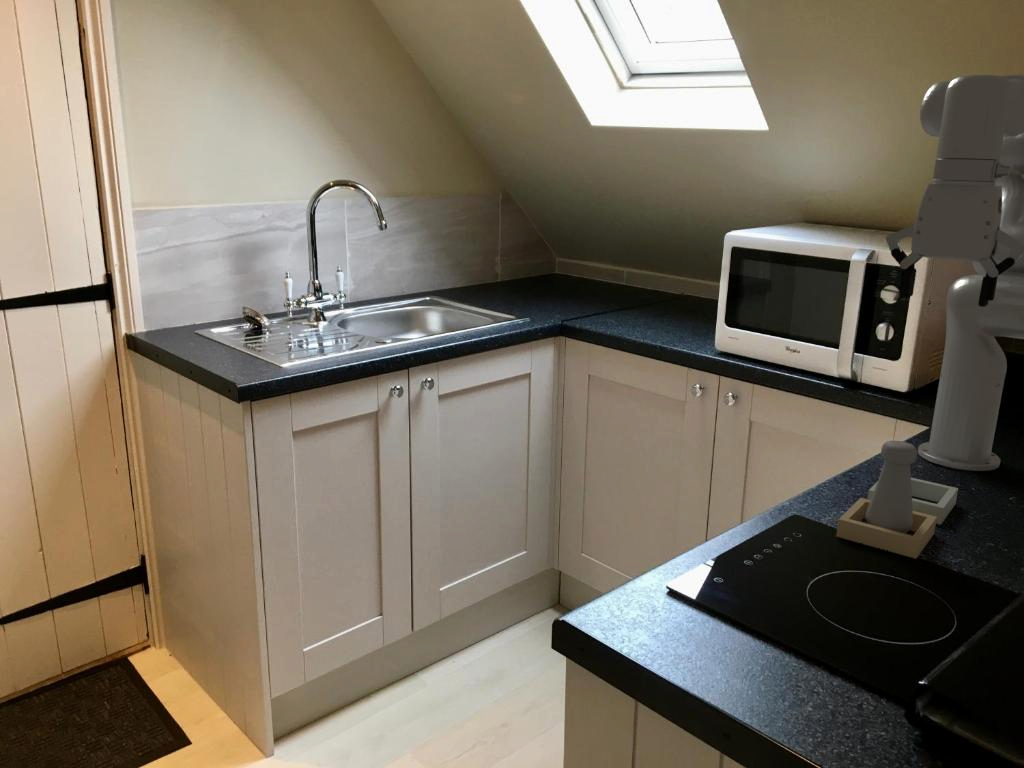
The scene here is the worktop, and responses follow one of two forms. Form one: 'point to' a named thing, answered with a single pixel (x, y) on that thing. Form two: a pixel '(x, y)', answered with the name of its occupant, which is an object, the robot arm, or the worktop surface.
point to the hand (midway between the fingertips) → (944, 301)
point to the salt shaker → (893, 489)
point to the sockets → (922, 525)
